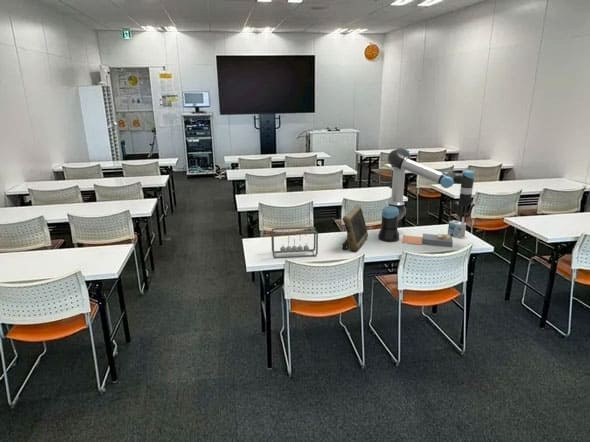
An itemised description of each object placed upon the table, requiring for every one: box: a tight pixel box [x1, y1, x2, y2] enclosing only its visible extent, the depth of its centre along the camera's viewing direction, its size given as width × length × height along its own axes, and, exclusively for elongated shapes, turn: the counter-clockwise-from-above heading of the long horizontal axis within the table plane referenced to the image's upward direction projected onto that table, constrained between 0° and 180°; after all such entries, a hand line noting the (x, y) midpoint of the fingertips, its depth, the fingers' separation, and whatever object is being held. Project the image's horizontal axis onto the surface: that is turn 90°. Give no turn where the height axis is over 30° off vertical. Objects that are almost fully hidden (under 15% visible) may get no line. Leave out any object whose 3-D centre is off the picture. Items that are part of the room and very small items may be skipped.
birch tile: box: [436, 233, 450, 240], centre depth 285 cm, size 8×6×2 cm
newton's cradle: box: [270, 226, 319, 259], centre depth 266 cm, size 30×10×18 cm, turn 96°
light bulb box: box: [446, 219, 467, 239], centre depth 299 cm, size 11×7×11 cm, turn 43°
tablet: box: [342, 204, 369, 253], centre depth 283 cm, size 33×14×25 cm, turn 161°
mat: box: [401, 234, 423, 246], centre depth 292 cm, size 14×16×1 cm
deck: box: [422, 233, 454, 248], centre depth 287 cm, size 20×12×4 cm, turn 72°
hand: (462, 226), depth 278 cm, fingers closed
